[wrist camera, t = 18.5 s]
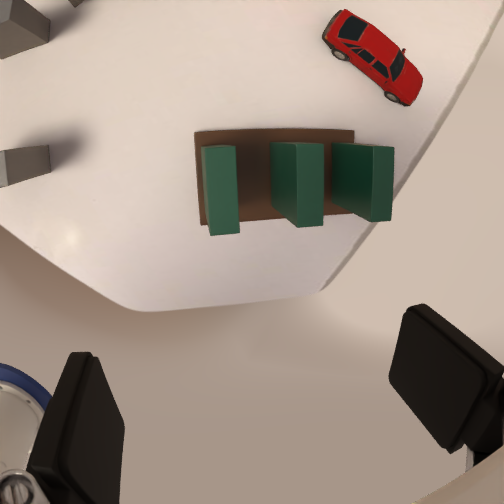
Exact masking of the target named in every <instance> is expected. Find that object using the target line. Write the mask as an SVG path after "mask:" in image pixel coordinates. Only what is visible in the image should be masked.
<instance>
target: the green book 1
mask: <svg viewBox="0 0 504 504" xmlns="http://www.w3.org/2000/svg"><path fill="white" fill-rule="evenodd" d="M201 159H202V175H203V190H204V204H205V213H206V218H207V223H208V227H209V232H210V236H215V235H225V234H236V233H240V226H239V206H238V185H237V164H236V146H231V145H210V146H201Z"/></svg>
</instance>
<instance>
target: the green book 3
mask: <svg viewBox="0 0 504 504" xmlns="http://www.w3.org/2000/svg"><path fill="white" fill-rule="evenodd" d="M393 182H394V147H389V146H379V145H369V144H357V143H337V142H332V198H331V202H332V203H334V204H336V205H338V206H340V207H342V208H344V209H346V210H348V211H350V212H352V213H354V214H356V215H358V216H360V217H362V218H364V219H365V220H367V221H369V222H381V221H391V215H392V201H393Z"/></svg>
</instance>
